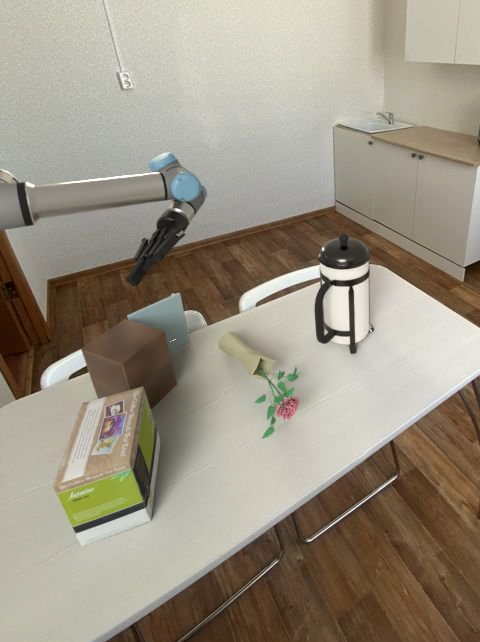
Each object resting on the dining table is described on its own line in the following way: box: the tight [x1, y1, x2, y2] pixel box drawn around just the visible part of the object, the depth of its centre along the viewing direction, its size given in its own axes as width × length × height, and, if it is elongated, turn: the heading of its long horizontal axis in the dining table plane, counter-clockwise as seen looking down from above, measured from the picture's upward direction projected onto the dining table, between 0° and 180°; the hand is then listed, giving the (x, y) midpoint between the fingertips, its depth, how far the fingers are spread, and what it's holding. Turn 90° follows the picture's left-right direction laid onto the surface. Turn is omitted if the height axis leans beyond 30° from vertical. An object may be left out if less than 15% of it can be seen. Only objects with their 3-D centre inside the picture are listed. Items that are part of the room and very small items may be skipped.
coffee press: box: [314, 233, 375, 355], centre depth 96 cm, size 17×16×30 cm
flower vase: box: [217, 331, 301, 439], centre depth 84 cm, size 12×12×35 cm
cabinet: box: [80, 318, 178, 410], centre depth 83 cm, size 10×12×15 cm
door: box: [126, 292, 191, 353], centre depth 94 cm, size 3×12×15 cm, turn 139°
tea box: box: [52, 387, 162, 547], centre depth 64 cm, size 15×10×15 cm, turn 21°
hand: (131, 282), depth 90 cm, fingers closed
